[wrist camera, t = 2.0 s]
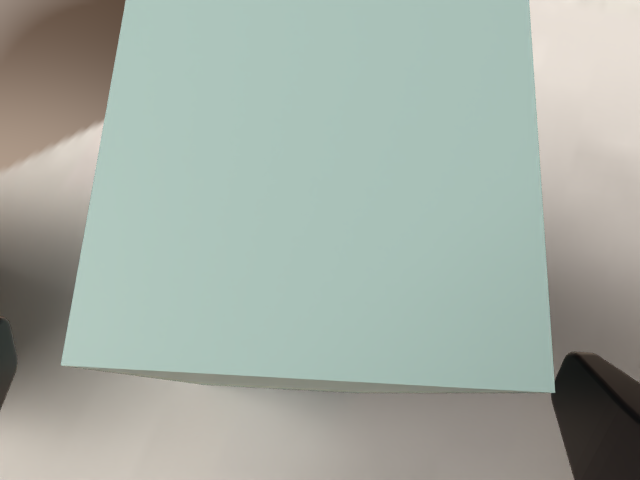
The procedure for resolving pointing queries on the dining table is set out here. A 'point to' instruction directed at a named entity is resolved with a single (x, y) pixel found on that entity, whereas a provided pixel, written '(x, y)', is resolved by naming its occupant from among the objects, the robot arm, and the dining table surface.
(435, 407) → the dining table surface
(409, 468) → the dining table surface
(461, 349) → the teal block
